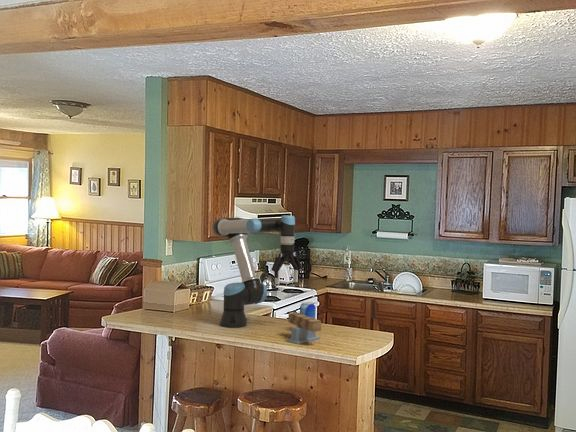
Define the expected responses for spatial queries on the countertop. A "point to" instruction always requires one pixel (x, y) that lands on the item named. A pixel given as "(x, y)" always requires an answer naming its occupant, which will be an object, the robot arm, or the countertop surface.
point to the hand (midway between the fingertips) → (286, 282)
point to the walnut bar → (304, 322)
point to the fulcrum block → (302, 335)
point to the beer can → (308, 309)
